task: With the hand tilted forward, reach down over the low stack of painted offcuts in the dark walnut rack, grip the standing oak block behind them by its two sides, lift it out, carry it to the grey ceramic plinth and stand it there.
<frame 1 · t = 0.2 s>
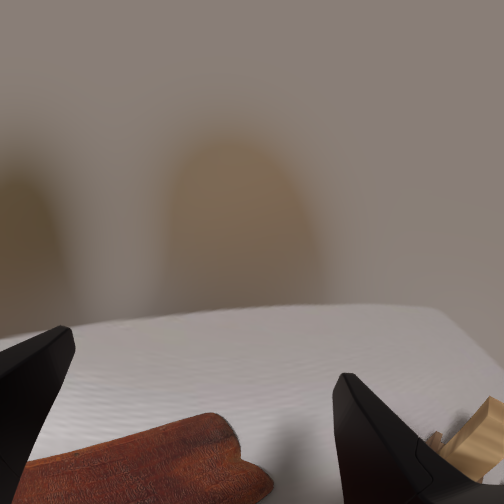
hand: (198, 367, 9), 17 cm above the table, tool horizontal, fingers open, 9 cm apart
wooden tablet: (99, 503, 14), on the table
oak block: (450, 472, 17), point 3 cm above the table, touching rack
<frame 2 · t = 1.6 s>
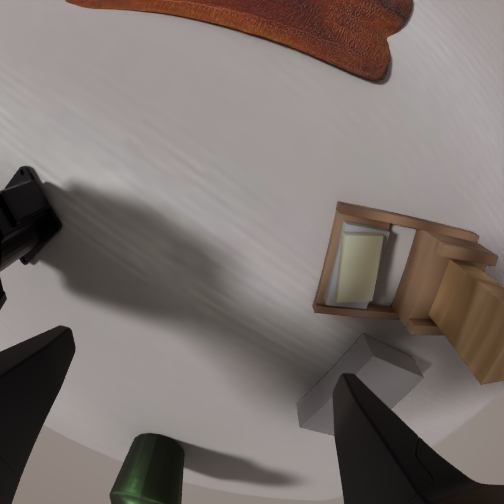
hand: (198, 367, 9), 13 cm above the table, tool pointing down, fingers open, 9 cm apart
rack: (409, 269, 22), on the table
plinth: (355, 382, 26), on the table
oak block: (451, 289, 19), point 3 cm above the table, touching rack
potion bottle: (159, 445, 31), on the table
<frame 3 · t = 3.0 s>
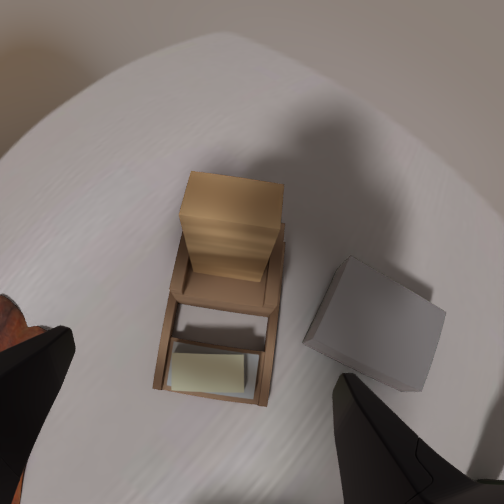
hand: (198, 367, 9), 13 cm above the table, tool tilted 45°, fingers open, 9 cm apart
rack: (223, 304, 23), on the table
plinth: (371, 331, 23), on the table
oak block: (229, 260, 21), point 3 cm above the table, touching rack
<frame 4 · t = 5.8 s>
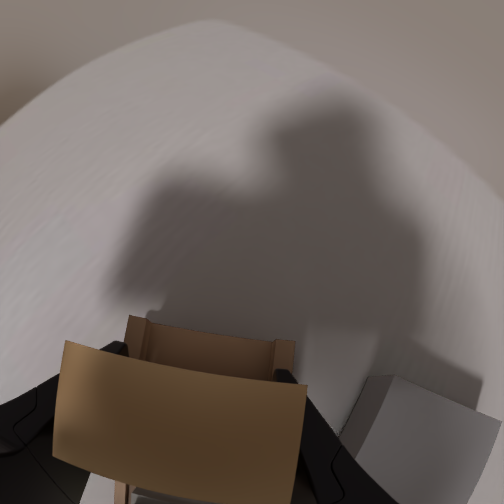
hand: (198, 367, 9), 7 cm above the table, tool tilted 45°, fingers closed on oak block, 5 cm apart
rack: (199, 439, 14), on the table
plinth: (406, 453, 14), on the table
oak block: (201, 400, 12), point 3 cm above the table, touching gripper, rack
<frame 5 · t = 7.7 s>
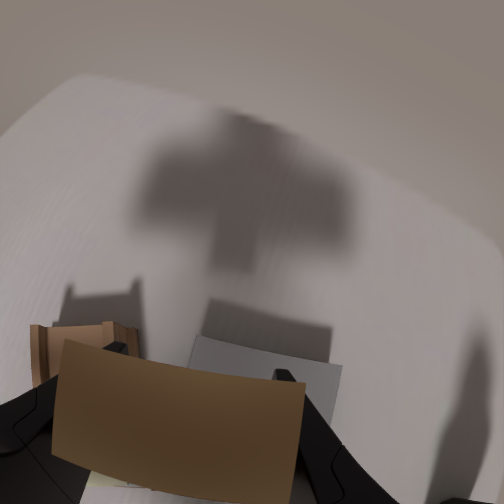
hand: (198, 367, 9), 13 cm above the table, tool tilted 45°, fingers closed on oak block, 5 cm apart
rack: (96, 400, 19), on the table
plinth: (255, 399, 21), on the table
oak block: (201, 399, 12), point 10 cm above the table, touching gripper
when the fingers open (7 cm above the table, at t = 9.9 s): oak block stays where it is, resting on plinth.
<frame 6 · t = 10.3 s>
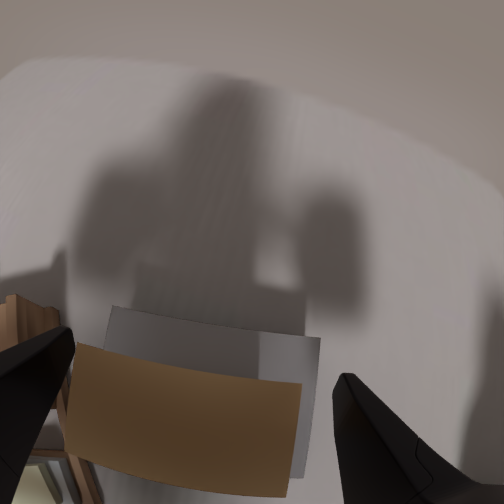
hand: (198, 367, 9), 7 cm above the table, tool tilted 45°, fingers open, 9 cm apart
rack: (21, 400, 13), on the table
plinth: (206, 395, 15), on the table
oak block: (203, 398, 12), point 3 cm above the table, touching plinth
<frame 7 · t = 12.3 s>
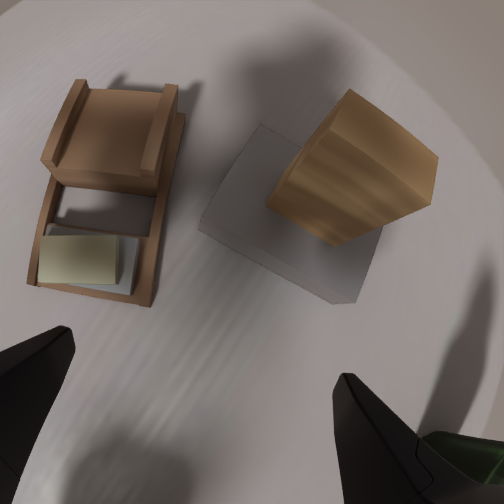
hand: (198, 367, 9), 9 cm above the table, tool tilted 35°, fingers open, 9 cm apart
rack: (109, 183, 18), on the table
plinth: (291, 222, 20), on the table
oak block: (309, 208, 17), point 3 cm above the table, touching plinth
potion bottle: (423, 460, 20), on the table
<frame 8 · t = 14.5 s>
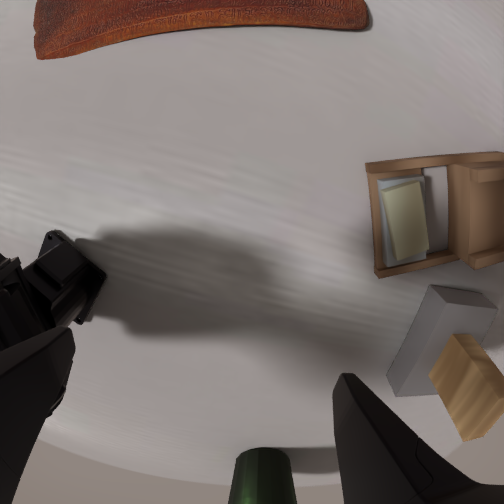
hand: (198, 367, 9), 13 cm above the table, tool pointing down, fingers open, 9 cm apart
rack: (453, 206, 20), on the table
plinth: (435, 336, 24), on the table
oak block: (449, 355, 21), point 3 cm above the table, touching plinth
potion bottle: (262, 458, 32), on the table
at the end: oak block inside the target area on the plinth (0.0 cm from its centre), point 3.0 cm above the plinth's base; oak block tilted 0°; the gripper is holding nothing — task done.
